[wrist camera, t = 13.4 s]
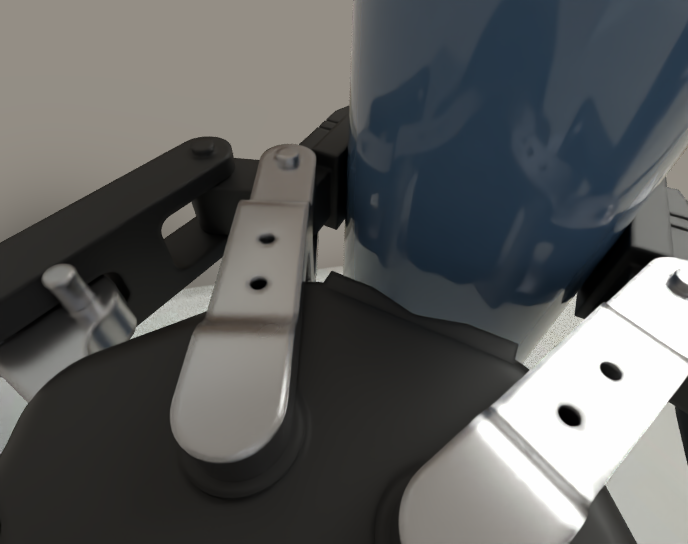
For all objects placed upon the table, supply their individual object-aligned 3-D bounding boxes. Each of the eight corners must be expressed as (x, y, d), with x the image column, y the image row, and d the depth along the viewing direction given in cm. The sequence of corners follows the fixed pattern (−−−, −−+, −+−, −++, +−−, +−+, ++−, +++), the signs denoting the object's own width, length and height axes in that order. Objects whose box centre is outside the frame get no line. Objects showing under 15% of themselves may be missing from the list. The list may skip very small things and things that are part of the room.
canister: (460, 321, 19) (688, -199, 7) (500, 452, 15) (1213, -232, 3) (335, 326, 18) (345, -215, 6) (343, 462, 14) (406, -281, 2)
